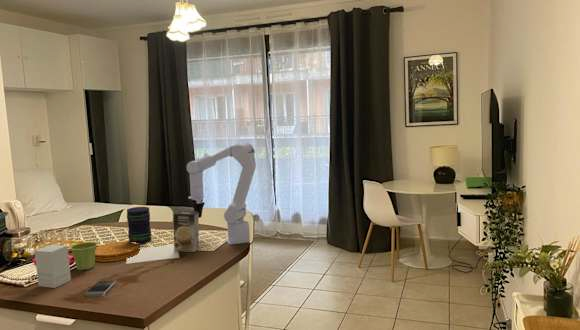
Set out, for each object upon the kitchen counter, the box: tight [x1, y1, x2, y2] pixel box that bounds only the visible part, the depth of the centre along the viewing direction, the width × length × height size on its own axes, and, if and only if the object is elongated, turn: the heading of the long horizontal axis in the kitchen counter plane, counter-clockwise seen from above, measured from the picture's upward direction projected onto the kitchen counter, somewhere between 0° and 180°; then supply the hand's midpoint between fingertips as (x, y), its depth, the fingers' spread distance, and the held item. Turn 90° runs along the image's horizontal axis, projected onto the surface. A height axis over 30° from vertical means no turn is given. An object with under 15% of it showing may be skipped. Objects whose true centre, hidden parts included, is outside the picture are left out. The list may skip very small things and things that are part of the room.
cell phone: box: [85, 280, 117, 298], centre depth 142 cm, size 6×11×1 cm, turn 1°
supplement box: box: [34, 244, 72, 289], centre depth 148 cm, size 7×7×13 cm
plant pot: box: [69, 241, 98, 271], centre depth 163 cm, size 9×9×9 cm
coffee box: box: [173, 210, 200, 253], centre depth 180 cm, size 9×6×16 cm
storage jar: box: [126, 206, 152, 245], centre depth 195 cm, size 10×10×15 cm
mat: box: [125, 244, 180, 265], centre depth 177 cm, size 20×18×1 cm
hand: (198, 216), depth 197 cm, fingers open, 5 cm apart
